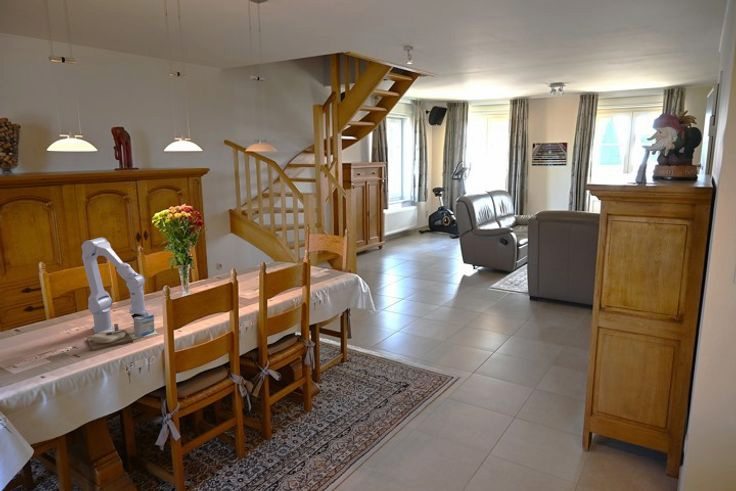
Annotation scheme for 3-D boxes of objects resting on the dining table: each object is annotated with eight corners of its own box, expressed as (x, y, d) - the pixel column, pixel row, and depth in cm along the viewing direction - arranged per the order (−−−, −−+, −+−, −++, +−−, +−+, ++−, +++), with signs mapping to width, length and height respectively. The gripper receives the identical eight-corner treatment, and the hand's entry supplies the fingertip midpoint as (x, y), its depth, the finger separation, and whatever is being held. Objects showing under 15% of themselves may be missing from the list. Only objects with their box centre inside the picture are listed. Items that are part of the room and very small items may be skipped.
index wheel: (112, 344, 213) (110, 334, 212) (85, 342, 216) (84, 332, 215) (131, 333, 226) (130, 323, 225) (106, 331, 228) (105, 322, 228)
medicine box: (141, 337, 225) (140, 319, 223) (134, 335, 226) (133, 317, 225) (154, 331, 232) (154, 314, 230) (147, 329, 233) (147, 312, 232)
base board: (86, 339, 223) (86, 337, 222) (125, 331, 232) (124, 329, 232) (92, 350, 210) (92, 348, 210) (133, 341, 220) (132, 339, 219)
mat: (128, 335, 228) (128, 334, 228) (153, 329, 235) (153, 329, 235) (132, 339, 223) (132, 339, 223) (157, 333, 229) (157, 333, 229)
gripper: (121, 300, 231) (124, 327, 234) (136, 305, 222) (139, 334, 225) (136, 296, 237) (139, 323, 239) (151, 302, 228) (154, 330, 230)
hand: (140, 328), depth 232 cm, fingers closed
